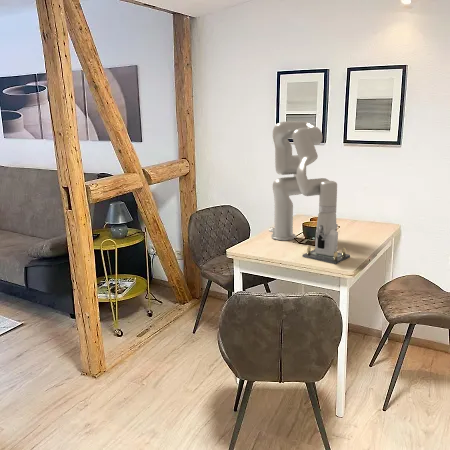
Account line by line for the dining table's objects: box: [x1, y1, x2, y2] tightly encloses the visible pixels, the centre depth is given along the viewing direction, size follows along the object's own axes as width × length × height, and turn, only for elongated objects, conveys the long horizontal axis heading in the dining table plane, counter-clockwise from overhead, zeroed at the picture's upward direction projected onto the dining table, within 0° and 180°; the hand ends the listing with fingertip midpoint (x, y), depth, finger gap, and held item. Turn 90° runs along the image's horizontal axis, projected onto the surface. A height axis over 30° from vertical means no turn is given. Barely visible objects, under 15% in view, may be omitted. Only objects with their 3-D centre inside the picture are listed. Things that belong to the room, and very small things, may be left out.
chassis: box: [302, 245, 351, 265], centre depth 214 cm, size 17×13×4 cm
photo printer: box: [314, 229, 339, 256], centre depth 213 cm, size 10×4×12 cm, turn 55°
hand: (326, 245), depth 213 cm, fingers open, 9 cm apart
